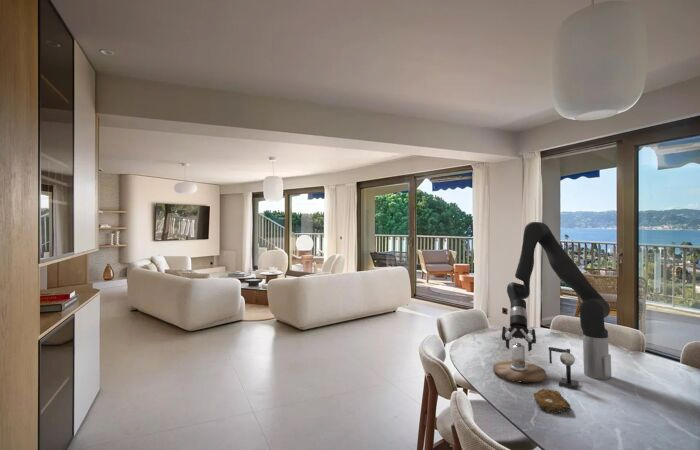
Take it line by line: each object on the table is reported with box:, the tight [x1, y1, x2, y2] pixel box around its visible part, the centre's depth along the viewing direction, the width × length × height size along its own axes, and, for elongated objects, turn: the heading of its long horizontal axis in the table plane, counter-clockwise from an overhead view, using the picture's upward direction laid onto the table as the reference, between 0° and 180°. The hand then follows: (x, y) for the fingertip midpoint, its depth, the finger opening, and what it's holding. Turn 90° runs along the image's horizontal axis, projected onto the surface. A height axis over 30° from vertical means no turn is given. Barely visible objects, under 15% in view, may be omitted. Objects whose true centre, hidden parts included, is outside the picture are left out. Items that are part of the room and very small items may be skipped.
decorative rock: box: [533, 388, 572, 415], centre depth 134 cm, size 11×4×15 cm
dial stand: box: [548, 346, 580, 390], centre depth 151 cm, size 10×6×14 cm, turn 49°
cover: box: [510, 342, 527, 372], centre depth 162 cm, size 7×7×11 cm
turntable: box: [492, 360, 547, 383], centre depth 161 cm, size 21×21×2 cm
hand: (518, 349), depth 165 cm, fingers open, 8 cm apart
